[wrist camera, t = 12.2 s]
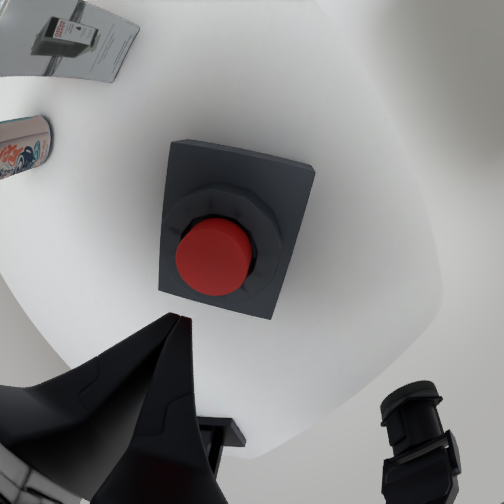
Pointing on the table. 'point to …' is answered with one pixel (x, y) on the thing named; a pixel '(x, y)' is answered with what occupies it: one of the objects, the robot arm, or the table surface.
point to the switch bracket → (218, 438)
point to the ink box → (62, 39)
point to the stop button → (214, 257)
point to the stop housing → (234, 216)
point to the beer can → (23, 144)
